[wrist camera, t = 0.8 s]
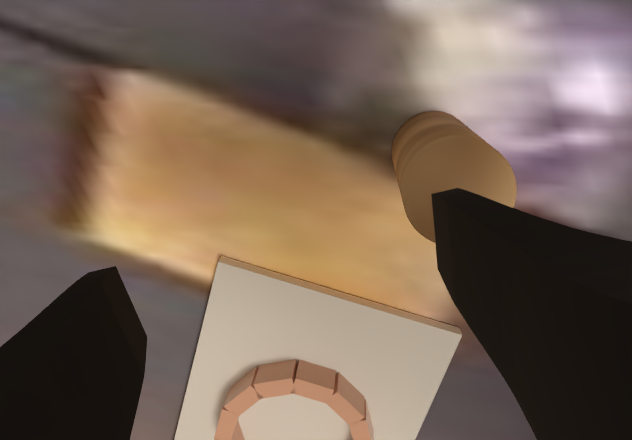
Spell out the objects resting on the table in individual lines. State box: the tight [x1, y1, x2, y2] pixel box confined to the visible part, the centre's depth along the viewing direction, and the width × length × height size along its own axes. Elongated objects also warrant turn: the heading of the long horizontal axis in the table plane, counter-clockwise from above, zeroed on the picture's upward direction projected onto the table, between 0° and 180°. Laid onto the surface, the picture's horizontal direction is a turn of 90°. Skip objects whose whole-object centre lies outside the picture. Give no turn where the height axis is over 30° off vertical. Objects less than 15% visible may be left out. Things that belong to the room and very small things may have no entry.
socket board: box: [174, 256, 462, 440], centre depth 32 cm, size 14×18×1 cm
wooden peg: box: [392, 111, 517, 243], centre depth 22 cm, size 4×4×8 cm
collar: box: [214, 359, 374, 440], centre depth 31 cm, size 9×9×2 cm
